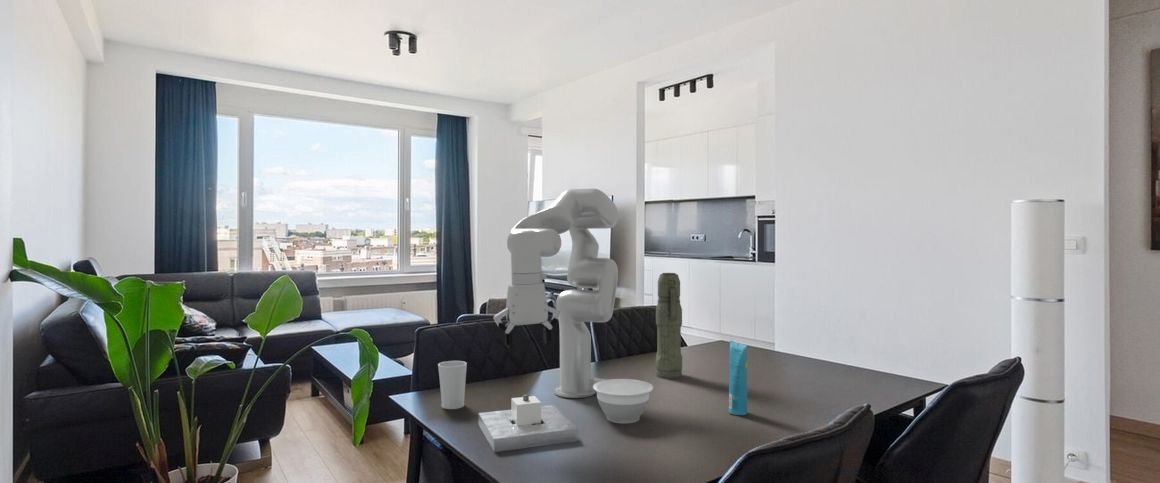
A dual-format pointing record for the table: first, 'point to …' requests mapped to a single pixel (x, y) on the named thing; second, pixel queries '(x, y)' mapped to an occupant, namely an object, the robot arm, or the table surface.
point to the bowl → (623, 399)
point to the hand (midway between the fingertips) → (528, 346)
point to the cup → (452, 383)
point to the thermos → (669, 327)
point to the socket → (526, 430)
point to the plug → (526, 410)
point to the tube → (738, 379)
